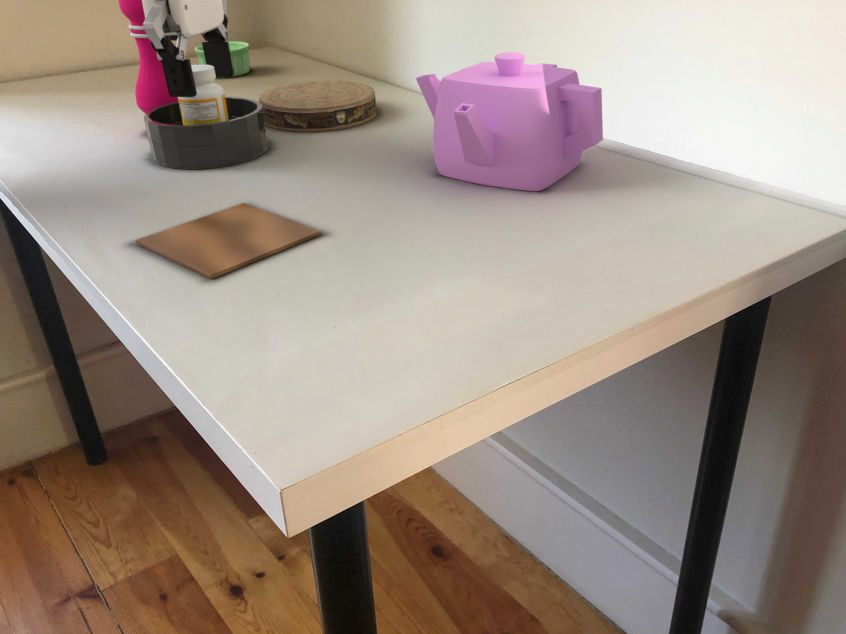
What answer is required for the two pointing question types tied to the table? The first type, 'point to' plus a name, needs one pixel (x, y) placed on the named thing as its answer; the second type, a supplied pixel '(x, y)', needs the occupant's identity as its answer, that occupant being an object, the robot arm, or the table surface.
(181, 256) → the mat
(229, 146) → the pan
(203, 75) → the supplement bottle
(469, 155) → the teakettle
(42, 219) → the table surface
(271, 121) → the wood slice
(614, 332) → the table surface
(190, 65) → the robot arm
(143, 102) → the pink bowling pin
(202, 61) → the ramekin
